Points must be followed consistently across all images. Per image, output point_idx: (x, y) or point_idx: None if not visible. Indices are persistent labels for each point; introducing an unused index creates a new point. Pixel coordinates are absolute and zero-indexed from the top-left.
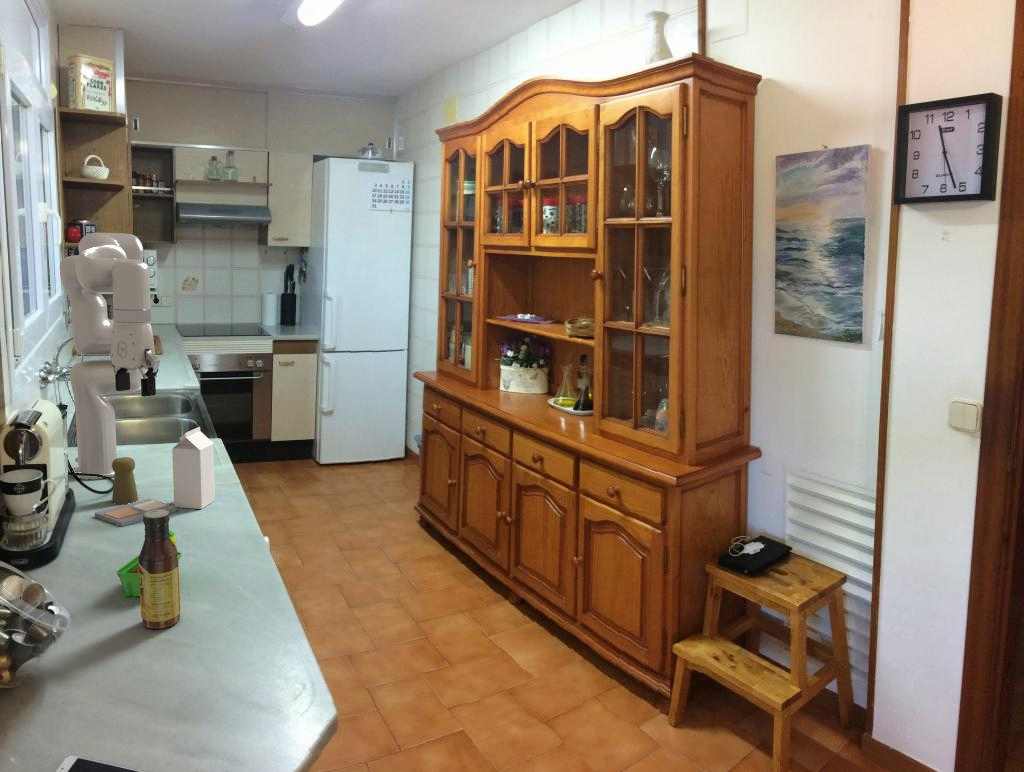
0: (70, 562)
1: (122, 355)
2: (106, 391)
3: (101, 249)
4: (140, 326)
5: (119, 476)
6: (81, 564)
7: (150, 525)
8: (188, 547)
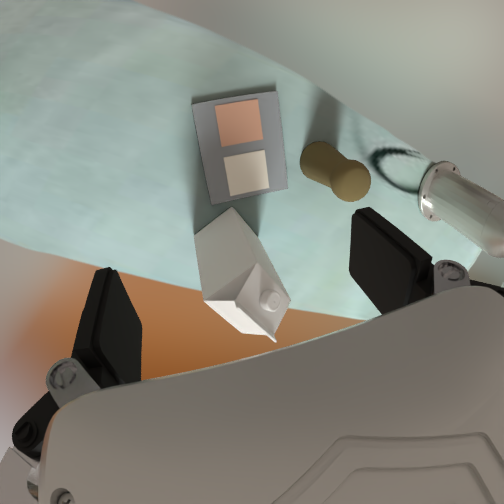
0: (87, 6)
1: (368, 487)
2: None
3: None
4: None
5: (334, 162)
6: (69, 18)
7: None
8: (40, 162)
